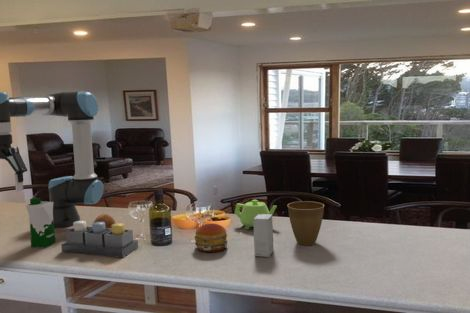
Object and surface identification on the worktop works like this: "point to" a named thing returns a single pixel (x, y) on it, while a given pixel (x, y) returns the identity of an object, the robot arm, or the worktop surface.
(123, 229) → the mustard button
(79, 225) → the cream button
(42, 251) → the worktop surface
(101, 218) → the onion
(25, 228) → the worktop surface
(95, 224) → the slate button
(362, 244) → the worktop surface
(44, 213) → the milk carton
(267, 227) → the skincare box
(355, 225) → the worktop surface
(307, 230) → the plant pot
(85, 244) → the grey frame
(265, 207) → the teapot
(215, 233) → the burger
